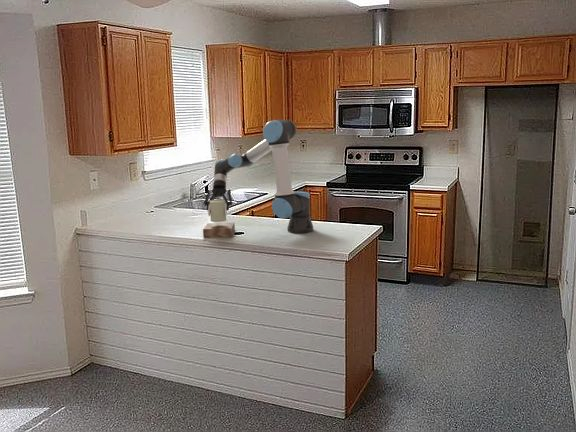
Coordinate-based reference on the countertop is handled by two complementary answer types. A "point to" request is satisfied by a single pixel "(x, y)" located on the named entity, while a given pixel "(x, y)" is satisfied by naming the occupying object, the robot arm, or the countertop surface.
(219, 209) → the can
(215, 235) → the plinth
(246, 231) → the countertop surface
